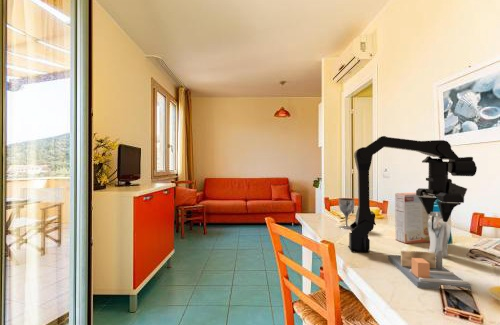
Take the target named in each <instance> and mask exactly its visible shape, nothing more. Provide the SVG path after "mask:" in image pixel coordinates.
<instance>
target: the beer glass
mask: <svg viewBox="0 0 500 325" xmlns="http://www.w3.org/2000/svg"><path fill="white" fill-rule="evenodd" d="M451 232H452V214H451V215H450V217H449V219H448V221H447V222H444V221H443V219H442V216H441V213H440V211H433V212H429V215H428V234H429V240H430V242H429V243H428V245H429V247H428V249H427V252H434V253H436V250H442V258H447V257H449V250H448V243H449V240H450V236H451Z"/></svg>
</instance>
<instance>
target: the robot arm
mask: <svg viewBox="0 0 500 325" xmlns="http://www.w3.org/2000/svg"><path fill="white" fill-rule="evenodd" d="M383 148H388V149H395V150H396V149H397V150H405V151H410V152H411V151H412V152H418V153H421V154H423V155H426V158H424V159H423V160H421V164H422V163H423V164H425V163H426V164H428V173H427V174H428V177H425V181H427V182H428V183H427V184H428V187H427V188H426V187H425V188H423V187H422V188H417V189H416V191H415V193H416V195H418V198H419V199H420V201H421V202H422V204H423V206H424V208H425V210H426V212H427V214H428V215H429V212H434V206H435V202H436V203H437V206H438V209H439V212H440V213H441V216H442V219H443V221H444V222H447V221H448V219H449V217H450V215H451V216H452V212H453V210H454V209H455V207H457V206H459V205H461V204H463V203H465V196H466V194H467V191H468V188H466V187H464V186H461V185H458V184H456V183H453V181H452V178H449V174H450V175H451V176H453V177H474V176H476V173H477V170H478V169H477V165H476V162H475V161H474V157H473V156H463V157H461V156H460V157H459V156H458V154H456V152H455V151H454V150H453V149H452V146H451V144H450V143H449V141H448V140H443V139H437V140H415V139H407V138H406V139H405V138H398V137H397V138H396V137H388V136H385V135H382V136H379V137H378V138H377V139H375V141H373V142H371V143H370V144H368V145H367V146H364V147H360V148H357V149H356V150H355V152H354V153H353V154H354V155H353V156H354V157H353V158H354V163H355V166H356V169H357V188H358V189H357V193H358V194H357V199H358V203H357V204H358V206H357V210H356V214H355V219H354V220H355V221H354V222H353V223H351V224H350V225H349V226H350V229H349V230H350V231H351V232H349V235H348V238H349V239H348V246H347V248H348V249H349V250H350V251H351V253H360V254H361V253H364V254H370V251H369V250H370V249H371V248H370V245H371V244H370V242H371V240H370V239H369V233H370V232H371V231H373V230H374V228H375V227H374V226H376V225H377V223H376V221H375V220H376V219H375V218H376V213H375V212H374V211H373V210H372V211H371V209H370V208H371V207H370V206H371V204H370V170H371V169H370V168H371V166H372V161H373V160H372V159H373V156H374V155H376V154H377V153H378V152H379V151H380V150H382V149H383ZM432 157H433V158H432ZM444 160H446V161H444ZM447 160H448V161H447ZM419 196H420V197H419ZM437 200H438V201H437Z"/></svg>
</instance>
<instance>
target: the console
mask: <svg viewBox="0 0 500 325" xmlns="http://www.w3.org/2000/svg"><path fill="white" fill-rule="evenodd" d="M388 260H389V262H391V263H392V264H393V265H394V266H395V267H396V268H397V269H398V270H399V271H400V272H401V273H402V274H403V275H404V276H405V277H406V278H407V279H408V280H409V281H410V282H412V284H414V286H415V287H416V288H418V289H419V288H421V289H434V290H440V289H439V286H440V285H451V286H456V287H465V288H468V289H470V290H471V291H472V285H471V284H469V283H468V281H467V280H464V279H462V278H461V277H459V276H458V275H456V274H455V272H453V271H450V270H449V269H447V268H446V267H444V266H443V257H442V250H436V268H430V278H418V277H416V276H415V275H414V274H413V273H412V272H411V267H409V266H402V265H401V254H399V255H398V254H388Z"/></svg>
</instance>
